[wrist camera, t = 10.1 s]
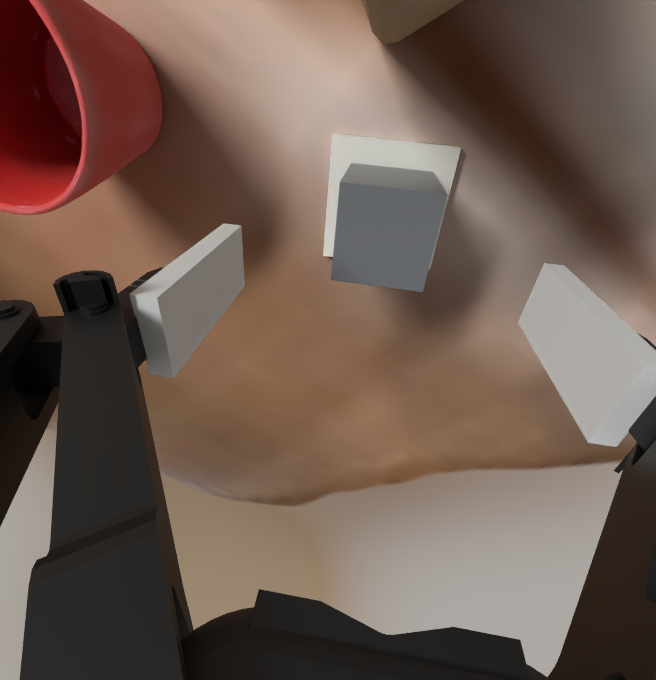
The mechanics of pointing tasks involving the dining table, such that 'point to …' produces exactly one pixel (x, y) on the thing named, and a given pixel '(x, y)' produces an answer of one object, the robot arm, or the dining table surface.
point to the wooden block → (403, 16)
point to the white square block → (386, 155)
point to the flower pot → (69, 102)
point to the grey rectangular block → (386, 226)
